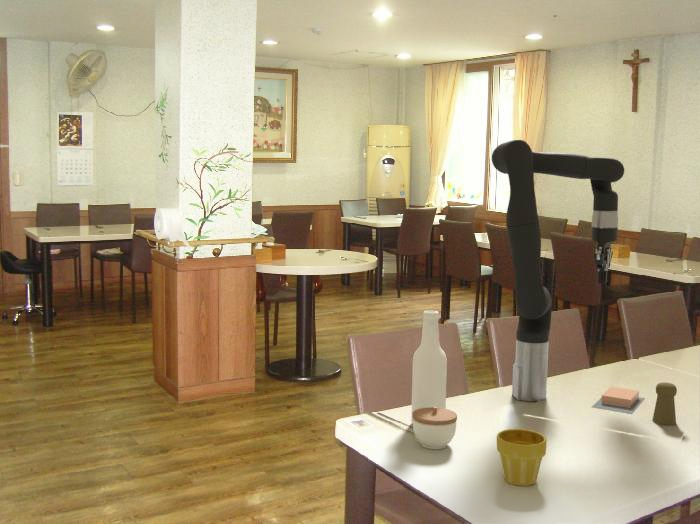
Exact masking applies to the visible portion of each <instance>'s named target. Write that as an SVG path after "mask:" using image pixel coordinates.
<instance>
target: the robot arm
mask: <svg viewBox="0 0 700 524" xmlns="http://www.w3.org/2000/svg"><path fill="white" fill-rule="evenodd" d="M491 162H492V165H493V167H494V168H495V170H496V171H498V172H500V173H501V174H506V175H507V176H508V182H509V189H510V190H509V200H508V206H507V209H506V218H505V224H506V225H505V226H506V233H507V240H508V245H509V251H510V256H511V261H512V266H513V270H514V282H515V283H514V286H515V287H514V288H515V289H514V290H515V306H516V309H517V311H518V314H519V315H518V325H517V329H516V333H515V335H516V336H515V338H516V340H515V360H514V361H515V362H513V364H512V383H511V384H512V385H511V394H512V396H513V397H514V398H515V399H516V400H517V401H525V402H538V401H543V400H546V399H547V393H548V391H547V387H548V385H547V384H548V383H547V382H548V363H549V362H548V361H549V343H550V342H549V339H550V332H551V323H552V307H553V306H552V304H553V302H552V301H553V300H552V295H551V293H550V291H549V290H548V288H547V287H546V286H544V284H543V280H542V279H543V278H542V274H541V255H542V234H541V226H540V220H539V216H538V215H539V214H538V207H537V206H538V205H537V196H536V191H535V179H534V178H535V177H534V176H535V175H534V174H541V175H542V174H543V175H550V176H556V177H564V178H570V179H571V178H572V179H577V180H590V186H591V191H592V194H593V195H592V196H593V201H592V202H593V205H592V206H593V207H592V208H593V209H592V210H593V211H592V217H591V235H590V239H591V241H592V242H596V243H597V244H596V248H595V253H594V254H593V258H594V263H595V268H596V270H597V271H598V278H597V279H598V280H597V282H598V283H599V284H606V283H608V271H609V269H610V267H611V263H612V259H613V254H614V251H613V248H612V245H611V243H616V242H618V235H619V234H618V231H619V213H618V210H619V207H618V206H619V196H618V192H616V191H614V190H613V189H612V188H613V186H612V183H616V182H618V181H620V180H621V179H622V178H623V176H624V174H625V167H624V165H623V163H622V161H620V160H618V159H616V158H612V157H611V158H610V157H598V156H588V155H585V154H584V155H582V154H576V153H569V152H543V151H542V152H541V151H532V148H531V146H530V145H529V143H528V142H527V141H525V140H523V139H519V138H518V139H513V140H509V141H506V142H503V143H501V144H499V145H498V146H496V147H495V148H494V150H493V151H492V154H491Z"/></svg>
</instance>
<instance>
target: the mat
mask: <svg viewBox="0 0 700 524" xmlns="http://www.w3.org/2000/svg"><path fill="white" fill-rule="evenodd" d="M601 399H602V396H601V397H600V398H599V399H598V400H597V401H596V402H595V403H594V404H593V405H591V408H593V409H597V410H598V409H599V410H605V411H611V412H617V413H623V414H628V415H629V414H630V415H633V414H634V413H635V411H636V410H637V409H638V408H639V407H640V405H641V404H642V403H643V402H644V401H645V399H646V397H641V396H640V397H639V398H638V399H637V400H636V401H635V403H634V404H633V405H632V406H631V407H630V408H627V407H621V406H615V405H609V404H603V403H602V402H601Z"/></svg>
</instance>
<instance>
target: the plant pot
mask: <svg viewBox="0 0 700 524" xmlns="http://www.w3.org/2000/svg"><path fill="white" fill-rule="evenodd" d="M496 450H497V452H498V453H499V454H500V461H501V466H502V470H503V477H504V480H505V481H506V482H507V483H508V484H511V485H514V486H518V487H519V486H520V487H522V486H523V487H528V486H533V485H534V484H536V483H537V480H538V476H539V475H538V474H539V471H540V467H541V464H542V460H543V457H545V456H546V453H547V437H546V436H545V434H543V433H541V432H538V431H535V430H531V429H524V428H509V429H504V430H501V431H499V432H498V433H497V435H496Z"/></svg>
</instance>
